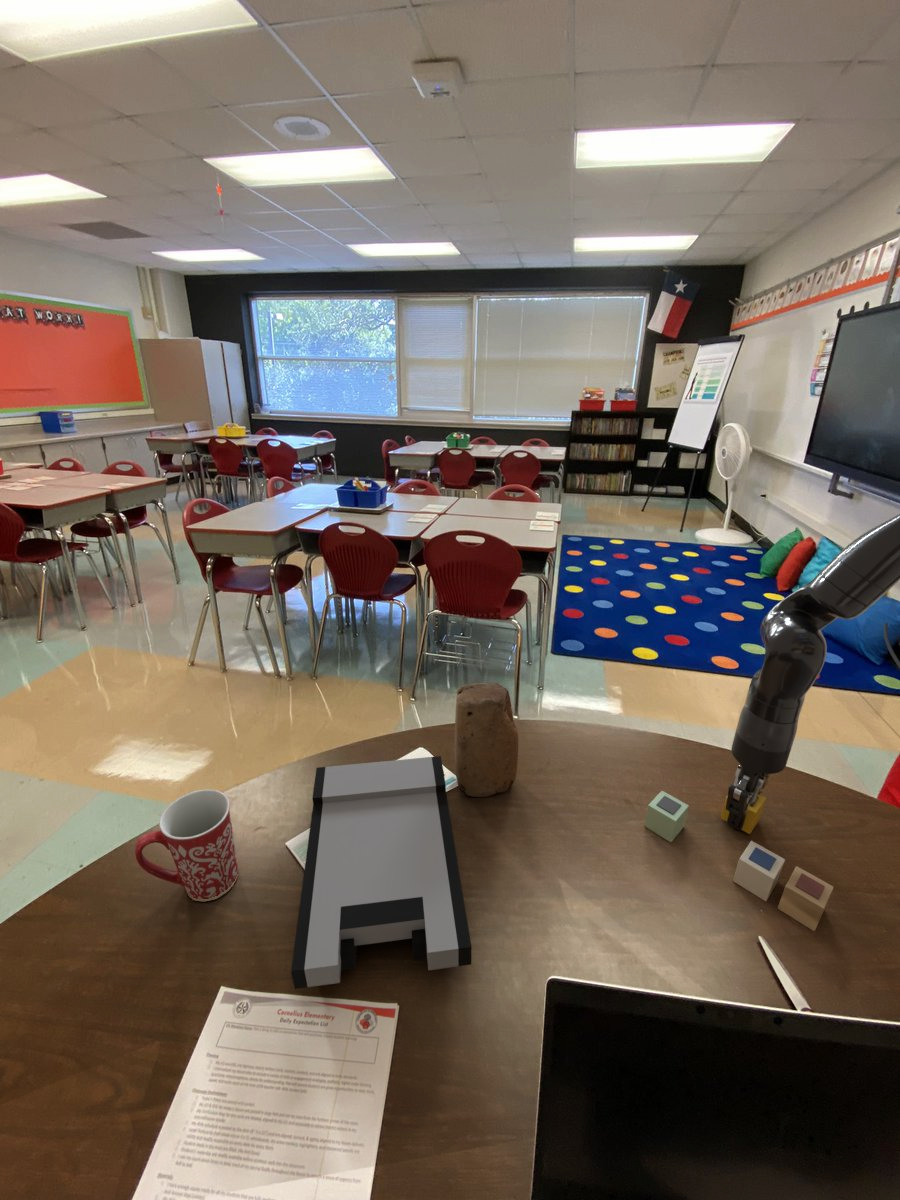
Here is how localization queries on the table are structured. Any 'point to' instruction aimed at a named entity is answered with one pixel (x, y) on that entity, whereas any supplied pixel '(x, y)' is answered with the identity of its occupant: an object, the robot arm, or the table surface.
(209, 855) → the mug
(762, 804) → the yellow block
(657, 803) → the block
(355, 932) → the grey notched sloped slab
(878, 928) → the table surface
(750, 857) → the block
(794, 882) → the block
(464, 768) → the block
